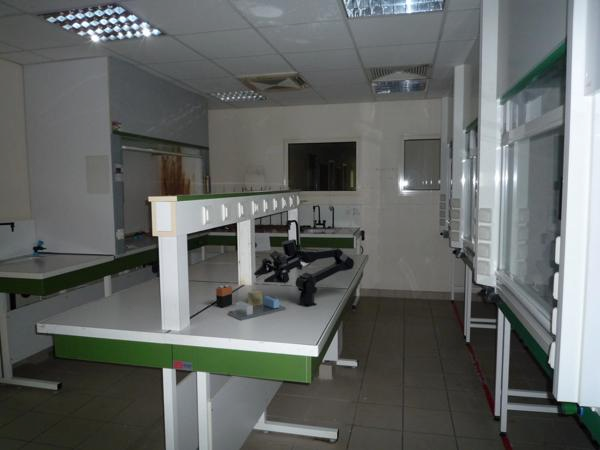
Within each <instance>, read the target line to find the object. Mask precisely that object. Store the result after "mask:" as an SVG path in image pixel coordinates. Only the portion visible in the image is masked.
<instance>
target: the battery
mask: <svg viewBox="0 0 600 450" xmlns="http://www.w3.org/2000/svg"><path fill="white" fill-rule="evenodd" d="M215 290H216V291H215V293H216V294H215V299H216V300H215V301H216V307H217V308H222V309H224V308H226V307H230V306H232V305H233V287H232V286H230V285H229V284H225V285H219V286H218V287H216V288H215Z"/></svg>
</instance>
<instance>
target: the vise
mask: <svg viewBox="0 0 600 450" xmlns="http://www.w3.org/2000/svg"><path fill="white" fill-rule="evenodd" d="M286 308H287V307H286V306H283V305H280V304H279V307H278V308H271V307H269V306H266V305H263V304H258V305H254V306H252V305H250V304H248V302H245V301H237V302H235V310H232V311H228V312H227V315H228V316H230V317H233V318H235V319H237V320H240V321H245V320H249V319H252V318H253V319H254V318H257V317H261V315H262V316H265V315H268V314H269V315H270V314H274V313H277V312H281V311H285V310H287V309H286Z"/></svg>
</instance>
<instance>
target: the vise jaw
mask: <svg viewBox="0 0 600 450" xmlns="http://www.w3.org/2000/svg"><path fill="white" fill-rule="evenodd" d="M262 304H263V305H266V306H269V307H271V308H278V307H279V305H280V299H279V296H276V295H270V296H269V295H266V296H262Z"/></svg>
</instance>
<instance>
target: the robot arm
mask: <svg viewBox="0 0 600 450" xmlns="http://www.w3.org/2000/svg"><path fill="white" fill-rule="evenodd" d="M281 245H282V248H283V254H282V253H280V252H279V251H276V250H274V251H272V252H271V253H270V254H269V257H270V258H271V259H272V260H270V259H268V258H266V257H265V258H263V259H261V266H260V267H259V268H258V269H257V270H256V271H255V272H253V274H254V276H261V275H268V274H270V273H272V272H273V274H271V275H270V276H268V277H266V278H265V279H264V280H263V281H264V283H281V284H287V283H288V282H289V281H290V276H289V274H290V273H291V270H293V269H297V270H300V271H302V270H303V264H312V263H314V262H315V261H317V260H321V259H323V260H324V259H328V258H329V259H330V258H333V259H334V263H332V264H330V265H329V266H326V267H324V268H322V269H319V270H318V271H315V272H313V273H309V272H304V273H303V274H299V275H298V277H297V278H296V279H295V286H296V287H297V289H298V291H299V292H300V295H299V302H298V303H297V304H298V305H300V306H303V307H307V308H308V307H311V306H316V305H317V304H318V303H316V302H315V294H317V291H318V288H317V287H316V285H317V283H319V282H321V281H323V280H325V279H326V278H329V277H331V276H333V275H335V274H337V273H339V272H344V271H345V272H346V271H349V270H352V269H353V268H354V265H355V261H354V259H353V258H351V257H350V256H349V255H347V254H346V253H344V252H343V250H341V249H340V248H336V247H333V248H329V249H328V248H327V249H319V250H309V249H307V250H306V249H299V248H298V245H297V239H294V238H293V239H289V240H288V239H287V240H284V241H282V242H281ZM302 263H303V264H302Z"/></svg>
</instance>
